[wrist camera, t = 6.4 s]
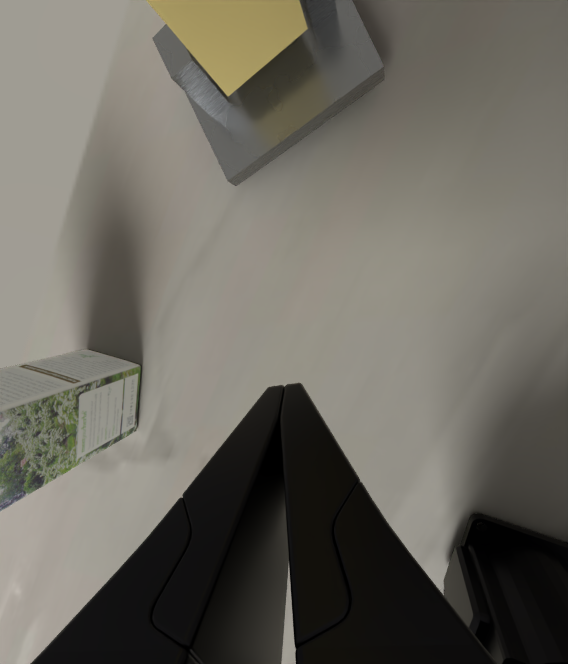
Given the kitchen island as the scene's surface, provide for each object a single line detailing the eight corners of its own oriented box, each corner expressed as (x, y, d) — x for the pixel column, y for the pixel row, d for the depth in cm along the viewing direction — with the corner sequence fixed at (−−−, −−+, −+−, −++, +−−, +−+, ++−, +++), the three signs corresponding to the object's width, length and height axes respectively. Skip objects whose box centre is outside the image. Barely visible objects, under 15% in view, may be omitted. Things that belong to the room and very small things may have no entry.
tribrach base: (384, 92, 16) (383, 5, 11) (243, 191, 19) (193, 158, 14) (308, -65, 16) (273, -221, 11) (180, 59, 19) (108, -20, 14)
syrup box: (86, 346, 25) (-281, 421, 11) (145, 364, 23) (-198, 476, 10) (84, 411, 26) (-251, 551, 12) (140, 432, 24) (-173, 621, 11)
